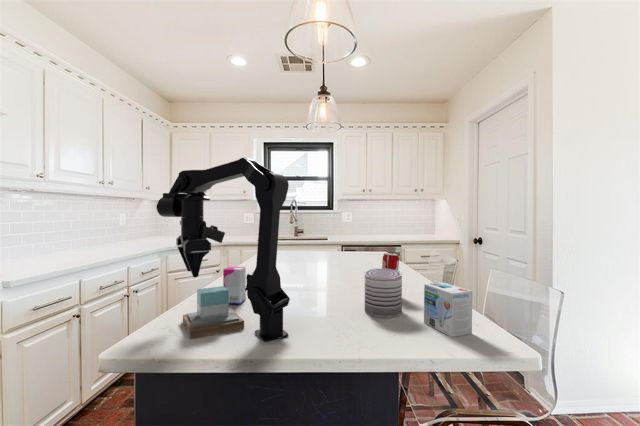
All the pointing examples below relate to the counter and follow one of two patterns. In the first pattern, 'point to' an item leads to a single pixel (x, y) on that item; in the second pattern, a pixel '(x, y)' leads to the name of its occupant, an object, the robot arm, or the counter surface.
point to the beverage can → (390, 261)
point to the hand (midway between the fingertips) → (192, 274)
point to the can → (383, 292)
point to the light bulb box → (448, 308)
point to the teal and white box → (212, 303)
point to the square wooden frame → (211, 324)
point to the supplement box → (235, 284)
